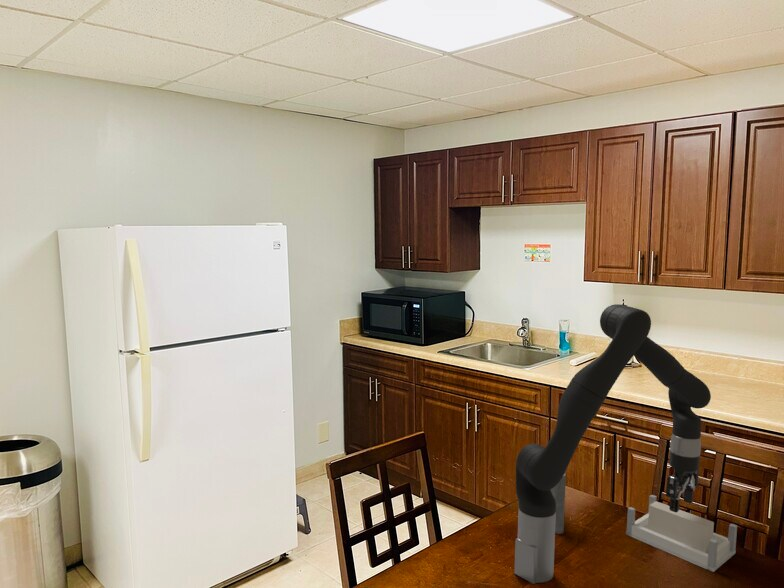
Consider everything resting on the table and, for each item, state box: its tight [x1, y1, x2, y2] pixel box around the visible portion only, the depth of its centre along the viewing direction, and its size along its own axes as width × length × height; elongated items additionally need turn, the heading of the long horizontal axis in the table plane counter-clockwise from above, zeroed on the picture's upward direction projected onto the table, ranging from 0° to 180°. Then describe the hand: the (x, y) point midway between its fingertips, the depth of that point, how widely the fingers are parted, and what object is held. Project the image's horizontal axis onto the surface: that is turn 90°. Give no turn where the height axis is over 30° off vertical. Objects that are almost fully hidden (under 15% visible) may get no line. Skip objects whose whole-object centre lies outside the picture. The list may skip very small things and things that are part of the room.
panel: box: [648, 500, 715, 554], centre depth 166 cm, size 4×16×8 cm, turn 40°
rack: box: [625, 494, 738, 573], centre depth 166 cm, size 14×24×8 cm, turn 39°
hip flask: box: [550, 472, 567, 535], centre depth 178 cm, size 16×4×20 cm, turn 1°
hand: (681, 506), depth 165 cm, fingers open, 8 cm apart
